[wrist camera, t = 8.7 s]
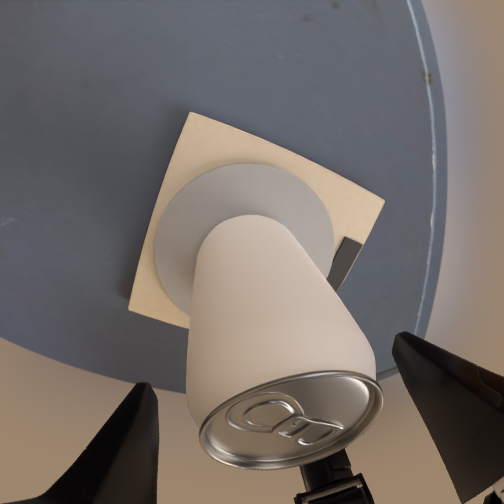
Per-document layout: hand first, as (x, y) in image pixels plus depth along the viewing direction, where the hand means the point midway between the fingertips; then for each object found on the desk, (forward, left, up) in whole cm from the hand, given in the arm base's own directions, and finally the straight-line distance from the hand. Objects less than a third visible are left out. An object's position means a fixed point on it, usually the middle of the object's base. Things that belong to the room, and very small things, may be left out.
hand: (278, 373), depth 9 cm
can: (0, 0, -10) cm, 10 cm away
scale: (0, -1, -11) cm, 11 cm away
